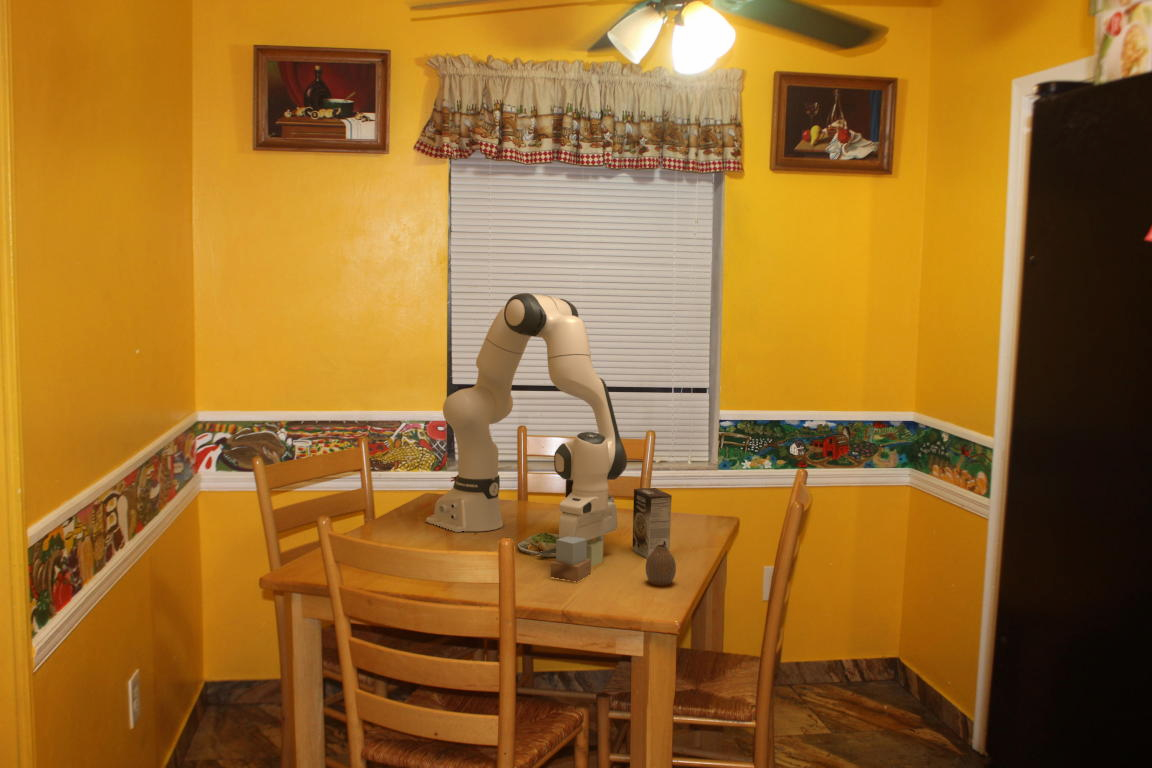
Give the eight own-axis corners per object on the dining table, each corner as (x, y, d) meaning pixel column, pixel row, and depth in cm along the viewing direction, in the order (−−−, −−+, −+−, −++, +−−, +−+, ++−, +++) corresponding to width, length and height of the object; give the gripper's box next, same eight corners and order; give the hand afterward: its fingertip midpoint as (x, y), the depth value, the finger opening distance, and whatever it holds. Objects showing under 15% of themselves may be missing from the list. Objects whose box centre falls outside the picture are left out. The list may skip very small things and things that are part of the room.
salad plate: (569, 566, 226) (570, 547, 225) (504, 556, 233) (504, 538, 232) (599, 546, 244) (599, 529, 243) (537, 538, 250) (537, 521, 250)
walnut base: (550, 579, 215) (550, 562, 214) (563, 571, 221) (563, 555, 220) (577, 584, 212) (578, 567, 211) (590, 576, 218) (590, 559, 218)
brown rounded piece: (642, 578, 216) (644, 541, 215) (672, 578, 216) (673, 541, 216) (647, 588, 209) (648, 550, 208) (678, 588, 210) (679, 549, 209)
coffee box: (631, 550, 239) (632, 488, 237) (653, 548, 242) (655, 486, 240) (647, 560, 231) (649, 496, 229) (670, 557, 233) (672, 494, 232)
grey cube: (569, 556, 220) (570, 535, 219) (586, 560, 217) (586, 539, 216) (555, 560, 216) (556, 539, 215) (572, 565, 213) (573, 543, 212)
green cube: (574, 562, 227) (574, 542, 227) (586, 558, 231) (586, 538, 231) (591, 566, 224) (591, 546, 224) (602, 562, 228) (603, 542, 228)
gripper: (603, 491, 237) (601, 544, 238) (554, 505, 220) (553, 562, 221) (624, 494, 233) (622, 548, 234) (576, 509, 216) (575, 567, 218)
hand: (588, 555), depth 228 cm, fingers closed on green cube, 5 cm apart
